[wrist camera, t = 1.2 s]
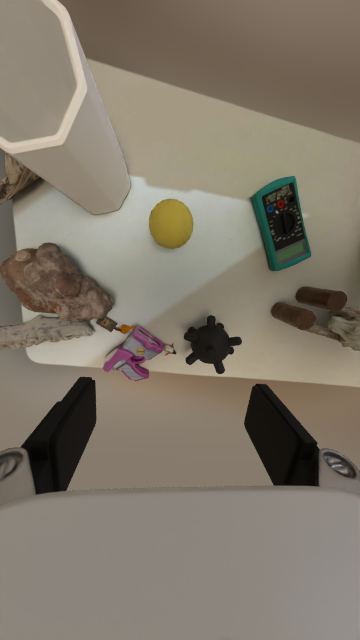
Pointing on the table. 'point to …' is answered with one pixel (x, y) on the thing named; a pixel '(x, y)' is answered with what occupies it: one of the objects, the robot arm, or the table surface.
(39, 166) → the cup
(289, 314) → the peg mid
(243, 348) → the table surface
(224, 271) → the table surface
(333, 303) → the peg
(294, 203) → the digital multimeter
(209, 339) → the toy ball
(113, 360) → the toy gun
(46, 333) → the fossil
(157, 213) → the yellow light bulb
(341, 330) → the figurine
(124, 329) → the key tag
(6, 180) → the bird model
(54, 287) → the rock
